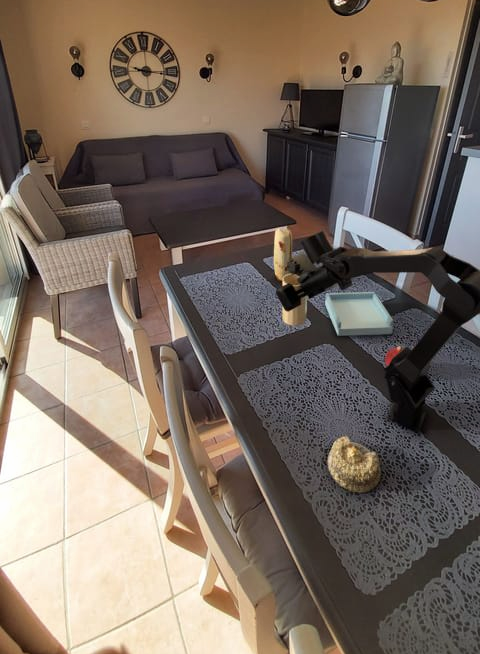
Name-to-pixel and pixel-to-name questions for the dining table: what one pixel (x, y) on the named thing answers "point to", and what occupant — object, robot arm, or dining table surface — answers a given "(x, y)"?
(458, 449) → the dining table surface
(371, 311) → the shallow mint tray
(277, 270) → the food model
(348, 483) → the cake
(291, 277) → the cup
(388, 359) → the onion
